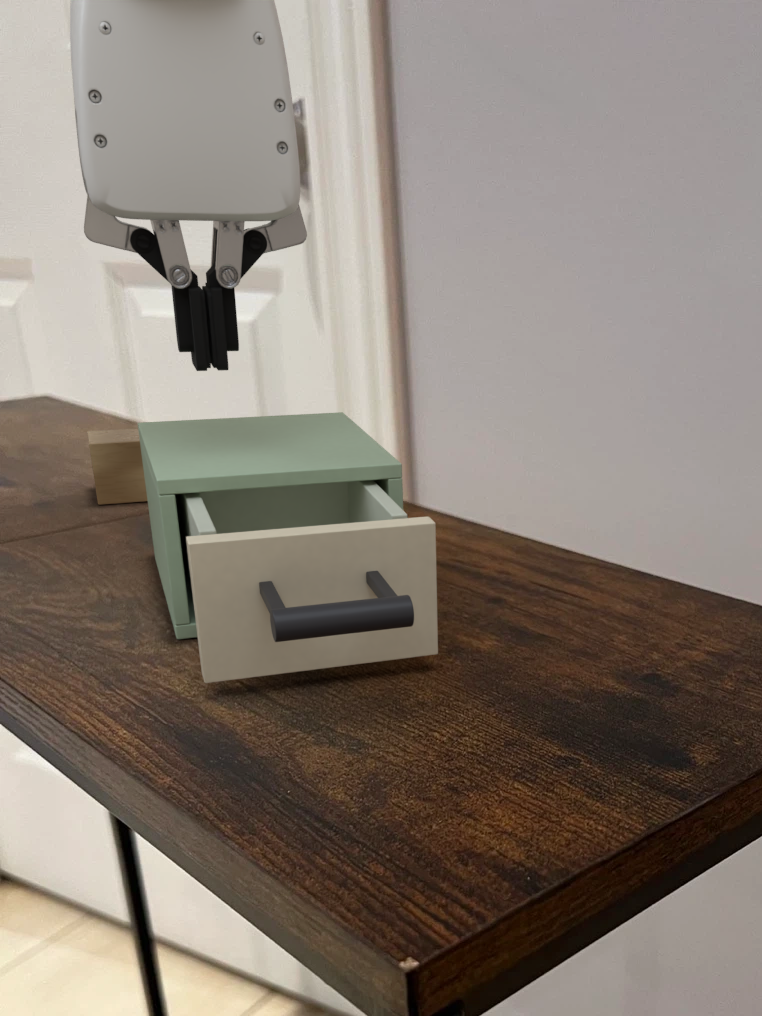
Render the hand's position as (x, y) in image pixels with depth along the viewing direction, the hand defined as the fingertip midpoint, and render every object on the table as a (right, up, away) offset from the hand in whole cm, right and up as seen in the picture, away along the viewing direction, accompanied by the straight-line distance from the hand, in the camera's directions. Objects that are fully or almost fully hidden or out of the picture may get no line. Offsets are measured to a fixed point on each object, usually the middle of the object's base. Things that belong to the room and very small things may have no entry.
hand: (209, 365), depth 60 cm
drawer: (+6, -14, -1) cm, 16 cm away
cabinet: (+1, -10, +9) cm, 14 cm away
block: (-14, -2, +26) cm, 30 cm away
